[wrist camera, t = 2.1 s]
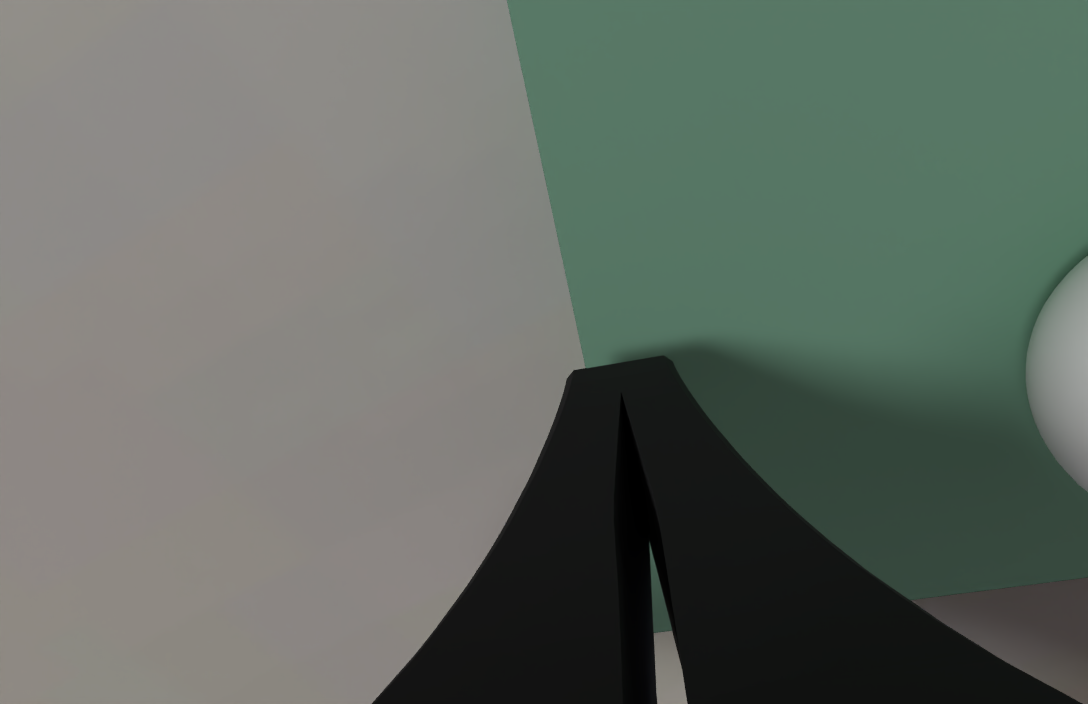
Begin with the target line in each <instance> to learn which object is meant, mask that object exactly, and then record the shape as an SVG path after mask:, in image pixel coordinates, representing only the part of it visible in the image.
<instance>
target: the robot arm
mask: <svg viewBox="0 0 1088 704" xmlns="http://www.w3.org/2000/svg"><path fill="white" fill-rule="evenodd" d="M649 542H650V544H649ZM650 546H651V550H652V554H653V558H654V561H655V565H656V569H657V573H658V577H659V581H660V585H661V589H662V593H663V596H664V600H665V604H666V608H667V612H668V616H669V620H670V624H671V627H672V631H673V635H674V639H675V643H676V647H677V651H678V655H679V658H680V662H681V666H682V670H683V677H684V683H685V690H686V696H687V702H688V704H1082V703H1080V702H1078V701H1076V700H1075V699H1073V698H1071V697H1069V696H1067V695H1065V694H1064V693H1062V692H1060V691H1058V690H1056V689H1054V688H1052V687H1051V686H1049V685H1047V684H1045V683H1043V682H1041V681H1040V680H1038V679H1036V678H1034V677H1032V676H1030V675H1028V674H1027V673H1025V672H1023V671H1021V670H1019V669H1017V668H1016V667H1014V666H1012V665H1010V664H1008V663H1006V662H1005V661H1003V660H1001V659H1000V658H998V657H996V656H995V655H993V654H992V653H990V652H988V651H987V650H985V649H984V648H982V647H980V646H979V645H977V644H976V643H974V642H972V641H971V640H969V639H968V638H966V637H964V636H963V635H961V634H960V633H958V632H956V631H955V630H953V629H951V628H950V627H948V626H947V625H945V624H943V623H942V622H941V621H939V620H938V619H936V618H935V617H933V616H932V615H930V614H929V613H928V612H926V611H925V610H923V609H922V608H920V607H919V606H918V605H916V604H915V603H913V602H912V601H910V600H909V599H908V598H906V597H905V596H903V595H902V594H900V593H899V592H898V591H896V590H895V589H893V588H892V587H890V586H889V585H888V584H886V583H885V582H883V581H882V580H880V579H879V578H878V577H876V576H875V575H873V574H872V573H870V572H869V571H868V570H866V569H865V568H864V567H862V566H861V565H860V564H859V563H857V562H856V561H855V560H854V559H852V558H851V557H850V556H849V555H847V554H846V553H845V552H844V551H842V550H841V549H840V548H839V547H837V546H836V545H835V544H833V543H832V542H831V541H830V540H829V539H827V538H826V537H825V536H824V535H823V534H822V533H820V532H819V531H818V530H817V529H816V528H815V527H813V526H812V525H811V524H810V523H809V522H808V521H806V520H805V519H804V518H803V517H802V516H801V515H800V514H799V513H797V512H796V511H795V510H794V509H793V508H792V507H791V506H790V505H789V504H788V503H787V502H786V501H785V500H784V499H782V498H781V497H780V496H779V495H778V494H777V493H776V492H775V491H774V490H773V489H772V488H771V487H770V486H769V485H768V484H767V483H766V482H765V481H764V480H763V479H762V478H761V477H760V476H759V475H758V474H757V473H756V471H755V470H754V469H753V468H752V467H751V466H750V465H749V464H748V463H747V462H746V461H745V460H744V459H743V458H742V456H741V455H740V454H739V453H738V452H737V451H736V450H735V449H734V447H733V446H732V445H731V444H730V443H729V441H728V440H727V439H726V438H725V437H724V436H723V434H722V433H721V432H720V431H719V430H718V428H717V427H716V426H715V425H714V424H713V422H712V421H711V420H710V419H709V417H708V416H707V415H706V413H705V412H704V411H703V409H702V408H701V407H700V405H699V404H698V403H697V401H696V400H695V398H694V397H693V396H692V394H691V393H690V391H689V390H688V388H687V387H686V385H685V383H684V382H683V380H682V379H681V377H680V375H679V373H678V371H677V370H676V368H675V365H674V363H673V361H671V360H670V359H668V358H667V357H665V356H664V355H662V356H656V357H650V358H644V359H638V360H632V361H627V362H621V363H615V364H609V365H603V366H597V367H591V368H585V369H579V370H574V371H573V372H572V373H571V374H570V376H569V377H568V378H567V381H566V385H565V389H564V393H563V396H562V399H561V402H560V405H559V408H558V411H557V414H556V417H555V419H554V422H553V425H552V427H551V430H550V433H549V435H548V438H547V440H546V442H545V444H544V447H543V449H542V451H541V454H540V456H539V458H538V460H537V463H536V465H535V467H534V469H533V472H532V474H531V476H530V478H529V480H528V482H527V484H526V486H525V488H524V490H523V492H522V494H521V496H520V497H519V499H518V501H517V503H516V505H515V507H514V509H513V511H512V513H511V515H510V516H509V518H508V520H507V522H506V524H505V526H504V528H503V529H502V531H501V533H500V534H499V536H498V538H497V540H496V541H495V543H494V545H493V546H492V548H491V550H490V551H489V553H488V554H487V556H486V558H485V559H484V561H483V562H482V564H481V565H480V567H479V568H478V570H477V571H476V573H475V574H474V576H473V577H472V579H471V580H470V582H469V583H468V585H467V586H466V588H465V589H464V591H463V592H462V593H461V595H460V596H459V598H458V599H457V600H456V602H455V603H454V604H453V606H452V607H451V608H450V610H449V611H448V613H447V614H446V615H445V617H444V618H443V619H442V621H441V622H440V623H439V625H438V626H437V628H436V629H435V630H434V631H433V633H432V634H431V635H430V637H429V638H428V639H427V640H426V642H425V643H424V644H423V645H422V647H421V648H420V649H419V650H418V652H417V653H416V654H415V655H414V656H413V658H412V659H411V660H410V661H409V662H408V663H407V664H406V666H405V667H404V668H403V669H402V670H401V671H400V672H399V674H398V675H397V676H396V677H395V678H394V679H393V680H392V681H391V683H390V684H389V685H388V686H387V687H386V688H385V689H384V691H383V692H382V693H381V694H380V695H379V696H378V697H377V698H376V700H375V701H374V702H373V703H372V704H657V696H656V676H655V654H654V631H653V609H652V587H651V565H650Z"/></svg>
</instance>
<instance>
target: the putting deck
mask: <svg viewBox="0 0 1088 704" xmlns="http://www.w3.org/2000/svg"><path fill="white" fill-rule="evenodd" d="M507 3H508V8H509V12H510V17H511V22H512V26H513V31H514V36H515V40H516V45H517V50H518V54H519V59H520V64H521V68H522V73H523V78H524V82H525V87H526V92H527V96H528V101H529V106H530V110H531V115H532V120H533V124H534V129H535V134H536V138H537V143H538V148H539V152H540V157H541V162H542V166H543V171H544V176H545V180H546V185H547V190H548V194H549V199H550V204H551V208H552V213H553V218H554V222H555V227H556V231H557V236H558V241H559V245H560V250H561V255H562V259H563V264H564V269H565V273H566V278H567V283H568V287H569V292H570V297H571V301H572V306H573V311H574V315H575V320H576V325H577V329H578V334H579V339H580V343H581V348H582V353H583V357H584V362H585V367H586V368H591V367H597V366H603V365H609V364H615V363H621V362H627V361H632V360H638V359H644V358H650V357H656V356H662V355H664V356H665V357H667V358H668V359H670V360H671V361H673V363H674V365H675V368H676V370H677V371H678V373H679V375H680V377H681V379H682V380H683V382H684V383H685V385H686V387H687V388H688V390H689V391H690V393H691V394H692V396H693V397H694V398H695V400H696V401H697V403H698V404H699V405H700V407H701V408H702V409H703V411H704V412H705V413H706V415H707V416H708V417H709V419H710V420H711V421H712V422H713V424H714V425H715V426H716V427H717V428H718V430H719V431H720V432H721V433H722V434H723V436H724V437H725V438H726V439H727V440H728V441H729V443H730V444H731V445H732V446H733V447H734V449H735V450H736V451H737V452H738V453H739V454H740V455H741V456H742V458H743V459H744V460H745V461H746V462H747V463H748V464H749V465H750V466H751V467H752V468H753V469H754V470H755V471H756V473H757V474H758V475H759V476H760V477H761V478H762V479H763V480H764V481H765V482H766V483H767V484H768V485H769V486H770V487H771V488H772V489H773V490H774V491H775V492H776V493H777V494H778V495H779V496H780V497H781V498H782V499H784V500H785V501H786V502H787V503H788V504H789V505H790V506H791V507H792V508H793V509H794V510H795V511H796V512H797V513H799V514H800V515H801V516H802V517H803V518H804V519H805V520H806V521H808V522H809V523H810V524H811V525H812V526H813V527H815V528H816V529H817V530H818V531H819V532H820V533H822V534H823V535H824V536H825V537H826V538H827V539H829V540H830V541H831V542H832V543H833V544H835V545H836V546H837V547H839V548H840V549H841V550H842V551H844V552H845V553H846V554H847V555H849V556H850V557H851V558H852V559H854V560H855V561H856V562H857V563H859V564H860V565H861V566H862V567H864V568H865V569H866V570H868V571H869V572H870V573H872V574H873V575H875V576H876V577H878V578H879V579H880V580H882V581H883V582H885V583H886V584H888V585H889V586H890V587H892V588H893V589H895V590H896V591H898V592H899V593H900V594H902V595H903V596H905V597H906V598H908V599H909V600H915V599H923V598H931V597H939V596H946V595H954V594H962V593H970V592H978V591H986V590H993V589H1001V588H1009V587H1017V586H1025V585H1032V584H1040V583H1048V582H1056V581H1064V580H1072V579H1079V578H1087V577H1088V492H1087V491H1086V490H1085V489H1083V488H1082V487H1081V486H1079V485H1078V484H1077V483H1076V481H1075V480H1074V479H1073V478H1072V477H1071V476H1070V475H1069V474H1068V473H1067V472H1066V471H1065V470H1064V469H1063V467H1062V466H1061V465H1060V464H1059V463H1058V462H1057V460H1056V459H1055V457H1054V456H1053V455H1052V453H1051V452H1050V450H1049V449H1048V447H1047V445H1046V444H1045V442H1044V440H1043V438H1042V437H1041V435H1040V432H1039V430H1038V428H1037V426H1036V423H1035V421H1034V418H1033V415H1032V412H1031V409H1030V405H1029V400H1028V395H1027V388H1026V357H1027V350H1028V346H1029V341H1030V338H1031V334H1032V331H1033V328H1034V325H1035V323H1036V320H1037V318H1038V315H1039V313H1040V312H1041V310H1042V308H1043V306H1044V304H1045V302H1046V301H1047V299H1048V298H1049V296H1050V295H1051V294H1052V292H1053V291H1054V289H1055V288H1056V287H1057V286H1058V284H1059V283H1060V282H1061V281H1062V280H1063V279H1064V277H1065V276H1066V275H1067V274H1068V273H1069V272H1070V271H1071V270H1072V269H1073V268H1074V267H1075V266H1076V265H1077V264H1078V263H1079V262H1080V261H1081V260H1083V259H1084V258H1085V257H1086V256H1088V0H507ZM649 544H650V542H649ZM650 565H651V587H652V609H653V631H654V633H657V632H665V631H672V627H671V624H670V620H669V616H668V612H667V608H666V604H665V600H664V596H663V593H662V589H661V585H660V581H659V577H658V573H657V569H656V565H655V561H654V558H653V554H652V550H651V546H650Z"/></svg>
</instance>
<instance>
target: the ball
mask: <svg viewBox="0 0 1088 704" xmlns="http://www.w3.org/2000/svg"><path fill="white" fill-rule="evenodd" d="M1026 388H1027V395H1028V400H1029V405H1030V409H1031V412H1032V415H1033V418H1034V421H1035V423H1036V426H1037V428H1038V430H1039V432H1040V435H1041V437H1042V438H1043V440H1044V442H1045V444H1046V445H1047V447H1048V449H1049V450H1050V452H1051V453H1052V455H1053V456H1054V457H1055V459H1056V460H1057V462H1058V463H1059V464H1060V465H1061V466H1062V467H1063V469H1064V470H1065V471H1066V472H1067V473H1068V474H1069V475H1070V476H1071V477H1072V478H1073V479H1074V480H1075V481H1076V483H1077V484H1078V485H1079V486H1081V487H1082V488H1083V489H1085V490H1086V491H1087V492H1088V256H1086V257H1085V258H1084V259H1083V260H1081V261H1080V262H1079V263H1078V264H1077V265H1076V266H1075V267H1074V268H1073V269H1072V270H1071V271H1070V272H1069V273H1068V274H1067V275H1066V276H1065V277H1064V279H1063V280H1062V281H1061V282H1060V283H1059V284H1058V286H1057V287H1056V288H1055V289H1054V291H1053V292H1052V294H1051V295H1050V296H1049V298H1048V299H1047V301H1046V302H1045V304H1044V306H1043V308H1042V310H1041V312H1040V313H1039V315H1038V318H1037V320H1036V323H1035V325H1034V328H1033V331H1032V334H1031V338H1030V341H1029V346H1028V350H1027V357H1026Z"/></svg>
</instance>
